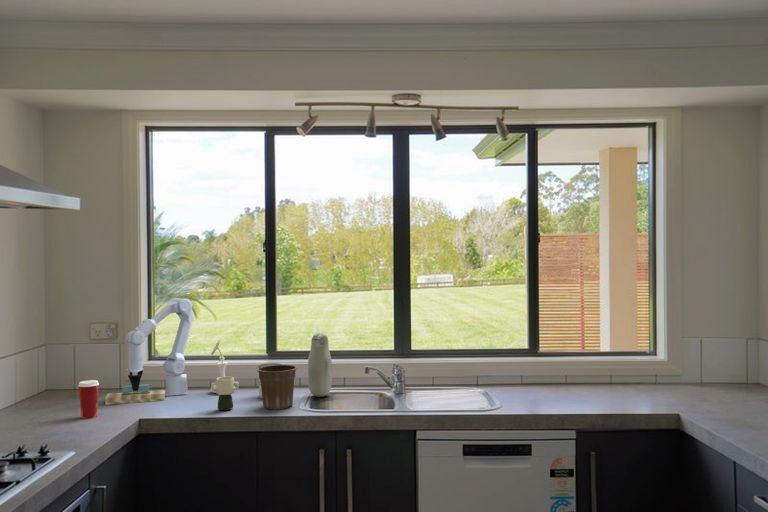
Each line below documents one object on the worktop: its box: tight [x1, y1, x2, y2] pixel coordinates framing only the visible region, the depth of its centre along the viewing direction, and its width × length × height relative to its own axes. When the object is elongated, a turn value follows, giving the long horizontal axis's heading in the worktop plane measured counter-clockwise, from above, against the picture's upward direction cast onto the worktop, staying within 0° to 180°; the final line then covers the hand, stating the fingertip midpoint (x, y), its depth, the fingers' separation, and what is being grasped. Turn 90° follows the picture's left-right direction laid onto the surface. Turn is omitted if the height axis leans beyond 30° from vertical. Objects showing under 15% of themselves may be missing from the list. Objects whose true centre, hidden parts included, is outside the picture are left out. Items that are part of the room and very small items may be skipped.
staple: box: [121, 383, 150, 395], centre depth 284 cm, size 11×3×6 cm, turn 108°
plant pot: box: [256, 364, 297, 411], centre depth 269 cm, size 16×16×16 cm
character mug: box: [210, 376, 240, 411], centre depth 264 cm, size 11×7×13 cm, turn 102°
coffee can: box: [257, 362, 282, 399], centre depth 289 cm, size 10×10×14 cm
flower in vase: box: [209, 339, 236, 394], centre depth 298 cm, size 13×11×25 cm
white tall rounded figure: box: [307, 333, 333, 398], centre depth 287 cm, size 10×10×28 cm
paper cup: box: [77, 379, 100, 420], centre depth 255 cm, size 8×8×14 cm
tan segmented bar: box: [104, 389, 166, 406], centre depth 284 cm, size 24×9×3 cm, turn 108°
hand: (135, 389), depth 284 cm, fingers open, 7 cm apart
